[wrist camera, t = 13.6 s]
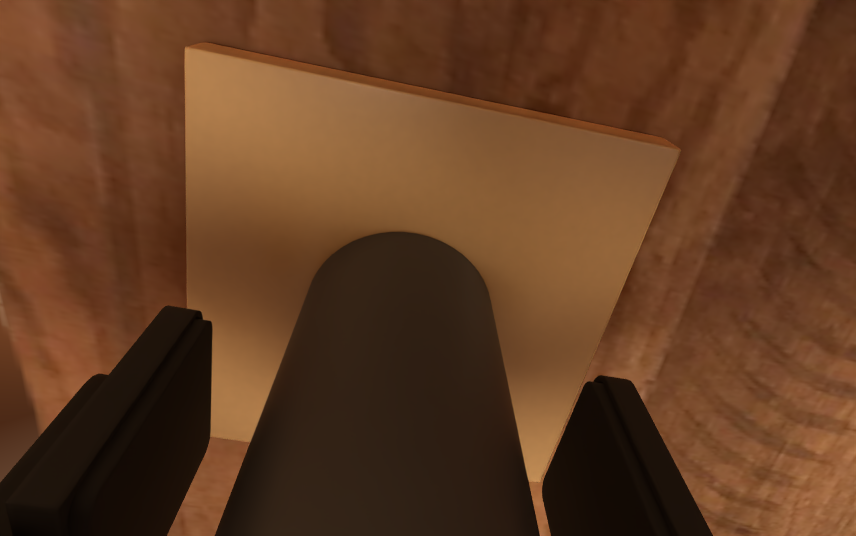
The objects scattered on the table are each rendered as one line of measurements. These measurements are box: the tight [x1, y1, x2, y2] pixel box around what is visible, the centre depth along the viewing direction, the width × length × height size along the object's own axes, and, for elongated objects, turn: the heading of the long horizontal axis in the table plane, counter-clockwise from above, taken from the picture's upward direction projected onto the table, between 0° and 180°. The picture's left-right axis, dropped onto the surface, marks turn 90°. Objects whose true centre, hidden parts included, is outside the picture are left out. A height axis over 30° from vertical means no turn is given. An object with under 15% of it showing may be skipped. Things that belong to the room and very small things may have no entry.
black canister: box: [215, 232, 540, 536], centre depth 9 cm, size 4×4×8 cm
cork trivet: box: [185, 42, 681, 482], centre depth 13 cm, size 10×10×1 cm
